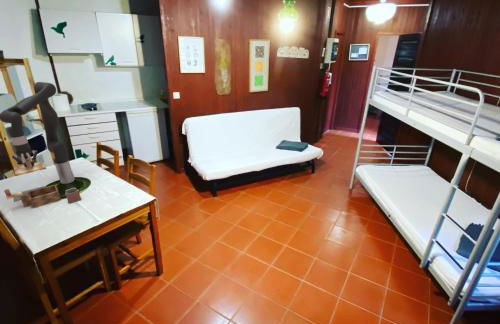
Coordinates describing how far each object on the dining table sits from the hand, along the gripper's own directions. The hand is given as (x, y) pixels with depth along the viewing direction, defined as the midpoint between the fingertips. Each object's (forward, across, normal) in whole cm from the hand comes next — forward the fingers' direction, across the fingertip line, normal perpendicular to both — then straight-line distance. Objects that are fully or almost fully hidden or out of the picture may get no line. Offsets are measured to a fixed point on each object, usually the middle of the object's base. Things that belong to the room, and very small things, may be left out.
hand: (29, 166), depth 172 cm
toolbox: (+25, 0, +5) cm, 25 cm away
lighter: (+25, -17, +18) cm, 35 cm away
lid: (+2, 0, 0) cm, 2 cm away
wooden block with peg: (+16, +12, +5) cm, 21 cm away
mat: (+25, +6, -12) cm, 28 cm away
